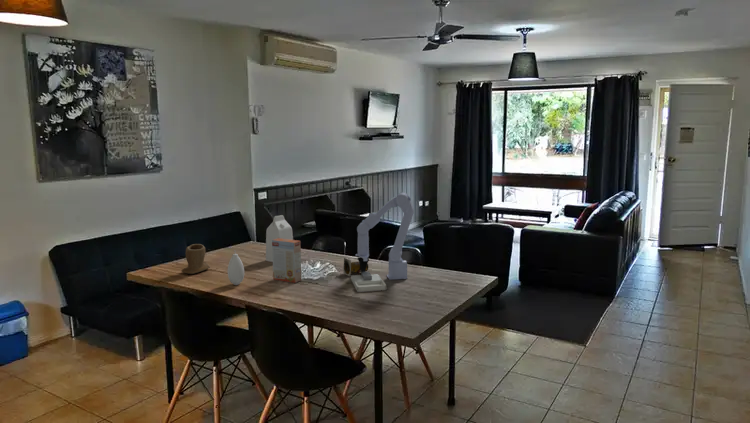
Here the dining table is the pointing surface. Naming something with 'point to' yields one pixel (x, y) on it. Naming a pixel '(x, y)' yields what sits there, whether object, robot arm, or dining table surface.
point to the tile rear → (364, 273)
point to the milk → (277, 234)
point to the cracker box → (286, 260)
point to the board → (360, 281)
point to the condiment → (352, 267)
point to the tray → (370, 287)
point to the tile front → (367, 277)
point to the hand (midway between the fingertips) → (363, 271)
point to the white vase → (235, 270)
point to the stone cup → (195, 259)
